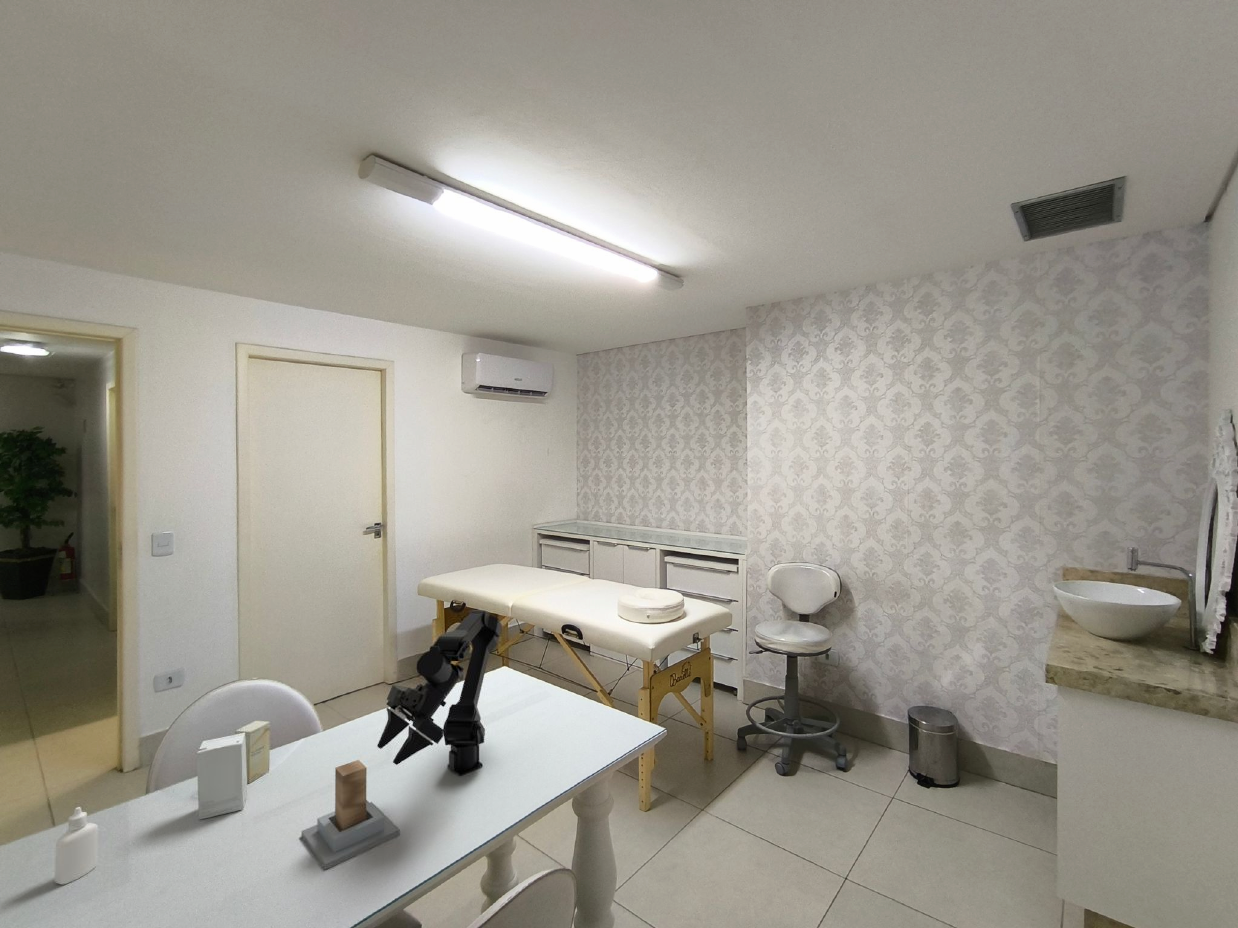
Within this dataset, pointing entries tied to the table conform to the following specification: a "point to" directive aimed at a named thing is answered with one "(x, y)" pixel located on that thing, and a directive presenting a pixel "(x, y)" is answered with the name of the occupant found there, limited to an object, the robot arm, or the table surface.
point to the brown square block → (350, 795)
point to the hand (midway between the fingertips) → (386, 755)
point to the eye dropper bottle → (76, 849)
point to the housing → (348, 836)
